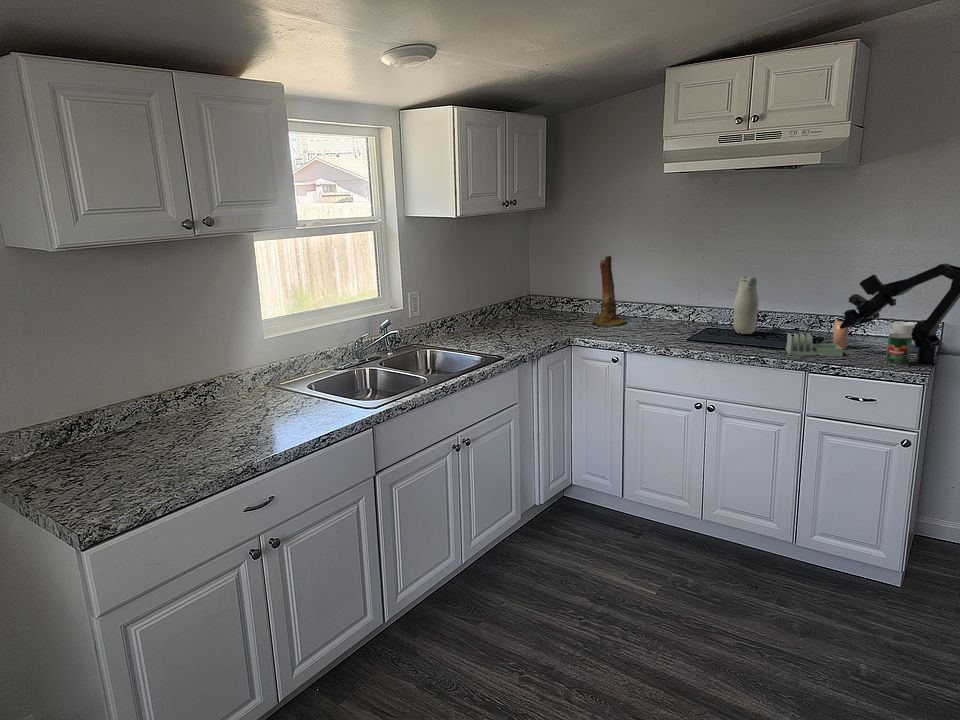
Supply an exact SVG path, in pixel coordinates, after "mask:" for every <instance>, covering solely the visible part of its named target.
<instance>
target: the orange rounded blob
mask: <svg viewBox="0 0 960 720" xmlns="http://www.w3.org/2000/svg"><path fill="white" fill-rule="evenodd" d="M843 321H844V320H842V321H841V320H840V321H839V320H838V321H837V320H836V321H834V326H833V327H834V328H833V337H832V344H837V345H839V346H840V347H841V348H842V349H843V350H845V348H846V349H847V348H848V340H849V339H848V338H849V332H850V331H849V329H850V326H849V327H846V328H843V329H841V328H840V326H841V324H842V323H843Z"/></svg>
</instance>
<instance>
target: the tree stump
mask: <svg viewBox="0 0 960 720" xmlns="http://www.w3.org/2000/svg"><path fill="white" fill-rule="evenodd" d="M599 268H600V274H601V285H602V286H601V287H602V289H601V290H602V291H601V293H602V300H601V301H602V302H601V304H600V315H599V316H597V317H595V318H593V319H592V324H595V326H598V327H614V326H622V325H624V324H628V320H626V319H622V318H620V317H619V316H617V315H618V313H617V302H616V301H617V300H616V296H615V283H614V279H613V277H614V276H613V272H612V256H611V255H610V256H609V255H608V256H607V255H606V256H605V258H604V259H601V260H600V264H599Z"/></svg>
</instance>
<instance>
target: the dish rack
mask: <svg viewBox="0 0 960 720" xmlns="http://www.w3.org/2000/svg"><path fill="white" fill-rule="evenodd" d="M786 336H787V337H786V338H787V339H786V346H785V351H786V352H787V354H788V355H789V354H791V355H790V356H804V355H820V356H819V357H839V356H842V357H843V354H844V353H843V352H844V349H842V348H841V347H840V346H839V345H837V344H833V343H813V340H814V337H813V336H812V335H811V334H810V333H808V332H807V333H806V336H805V335H804V334H803V333H802V332H801V333H800V334H799V335H798V334H797V333H796V332H794V333H793V336H792V334H791V333H790V332H787V335H786Z"/></svg>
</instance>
